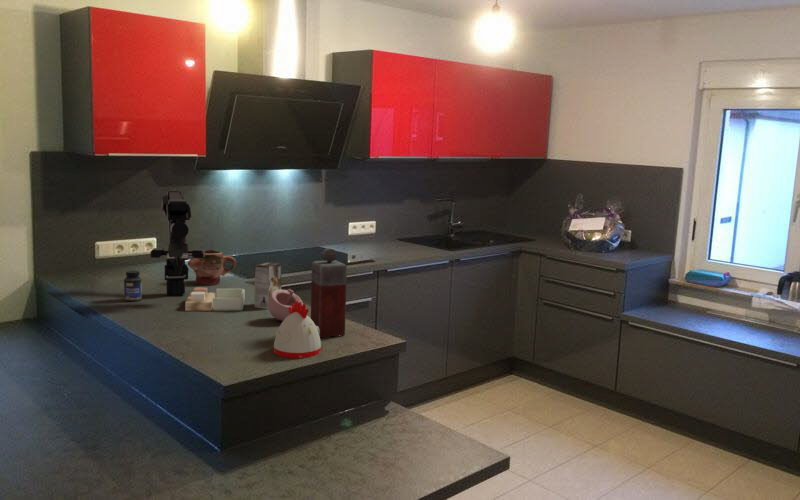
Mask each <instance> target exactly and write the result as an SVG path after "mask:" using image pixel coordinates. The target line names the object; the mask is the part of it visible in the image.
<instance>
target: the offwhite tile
mask: <svg viewBox="0 0 800 500" xmlns="http://www.w3.org/2000/svg"><path fill="white" fill-rule="evenodd" d="M191 292H192V294H191V301H204V300H205V292H194V291H191Z"/></svg>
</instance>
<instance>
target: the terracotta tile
mask: <svg viewBox="0 0 800 500" xmlns="http://www.w3.org/2000/svg"><path fill="white" fill-rule="evenodd" d="M193 292H205V296H207V293H208V286H207V287H205V286H204V287H202V286H201V287H200V286H197V287H194V288H193Z"/></svg>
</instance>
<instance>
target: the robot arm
mask: <svg viewBox="0 0 800 500" xmlns="http://www.w3.org/2000/svg"><path fill="white" fill-rule="evenodd" d="M166 192H167V193H166V194H165V195H164V196H163V197H162V199H161V212H163V217H164V219H165V220H166V221H167V223H168V225H167V226H168V248H167V249H168V250H165V248H164V247H154V248H152V249H151V250H150V253H149V254H150V258H154V259H155V258H156V259H157V258H161V257H162V256H166V257H167V258H166V261H165V264H164V266H163V280H164V281H166V293H165V296H166V297H178V296H179V297H182V296H184V295H185V294H186V291H187V290H186V288H187V287H186V284H187V283H186V280H189V269H190V267H189V266H188V263H187V264H186V261H189V260H190V257H192V256H193V257H194V258H204V256H205V249H204V248H193V249H192V250H190V249H189V248H190V247H189V244H188V243H187V235H188V234H189V227H188V225H187V222H186V221H190V220H191V219H190V218H192V213H191V206H190V203H188V202H187V200H185V197H184V196H183V195H182V192H181V191H179V190H168V191H166Z"/></svg>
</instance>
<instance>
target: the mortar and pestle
mask: <svg viewBox="0 0 800 500" xmlns="http://www.w3.org/2000/svg"><path fill="white" fill-rule="evenodd" d="M295 301H298V303H299V302H301V303H302V305H303V304H304V303H303V300H302V299H301V298H300V296H299V295H297V294H296V293H295V292H294V290H293V289H291V288H288V289H282V288H281V289H277V290H274V291H273V292H272V293H271V294H270V296H269V299H268V309H267V310H268V312H269V314H270V315H271V317H273V318H274V319H276V320H277V321H281V322H283V321H284V319H285V318H286V317H288V316H289V315H290V312H289V307H292V304H295Z"/></svg>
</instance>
